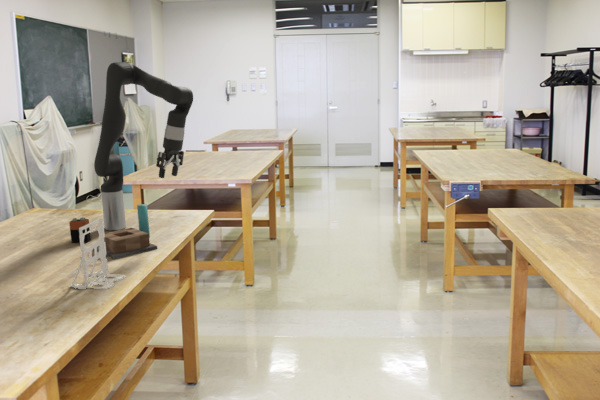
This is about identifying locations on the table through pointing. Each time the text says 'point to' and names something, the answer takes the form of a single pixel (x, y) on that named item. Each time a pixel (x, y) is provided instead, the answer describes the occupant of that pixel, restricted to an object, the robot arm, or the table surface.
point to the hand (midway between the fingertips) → (167, 176)
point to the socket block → (126, 243)
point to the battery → (74, 230)
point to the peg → (143, 218)
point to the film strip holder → (100, 254)
